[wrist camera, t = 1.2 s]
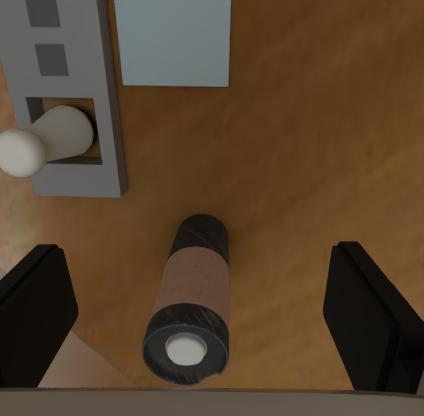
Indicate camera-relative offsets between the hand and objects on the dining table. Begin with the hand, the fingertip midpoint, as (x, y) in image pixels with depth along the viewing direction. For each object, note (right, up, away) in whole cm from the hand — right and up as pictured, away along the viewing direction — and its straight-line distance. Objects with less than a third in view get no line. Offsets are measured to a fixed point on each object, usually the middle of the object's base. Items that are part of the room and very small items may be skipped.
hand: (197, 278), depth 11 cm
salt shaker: (-16, +13, +28) cm, 35 cm away
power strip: (-16, +17, +26) cm, 35 cm away
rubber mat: (-4, +22, +22) cm, 32 cm away
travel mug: (-1, -1, +34) cm, 34 cm away
